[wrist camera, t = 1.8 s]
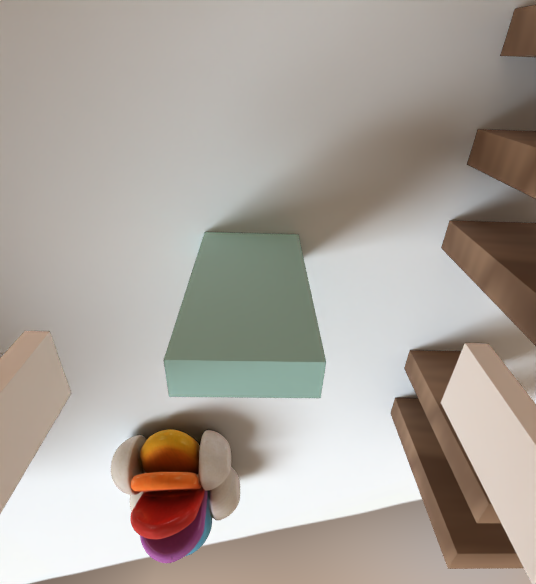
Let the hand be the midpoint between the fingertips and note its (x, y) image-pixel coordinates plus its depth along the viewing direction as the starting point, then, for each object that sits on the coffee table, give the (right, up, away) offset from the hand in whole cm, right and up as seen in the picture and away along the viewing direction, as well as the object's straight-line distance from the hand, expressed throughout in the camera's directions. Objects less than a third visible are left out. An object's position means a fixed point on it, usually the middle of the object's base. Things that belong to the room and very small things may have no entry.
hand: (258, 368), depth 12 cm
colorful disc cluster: (-7, -11, +18) cm, 22 cm away
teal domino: (-1, +5, +8) cm, 10 cm away
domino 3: (+12, -6, +15) cm, 20 cm away
